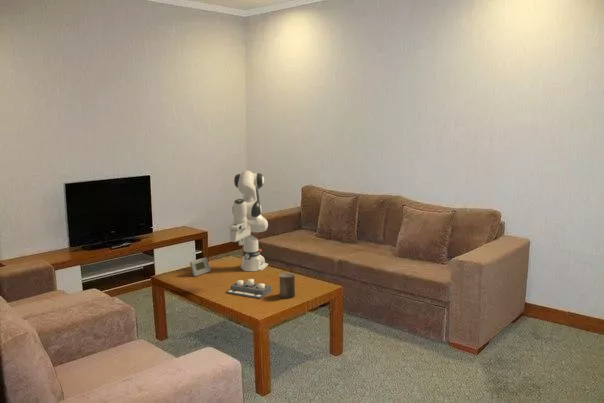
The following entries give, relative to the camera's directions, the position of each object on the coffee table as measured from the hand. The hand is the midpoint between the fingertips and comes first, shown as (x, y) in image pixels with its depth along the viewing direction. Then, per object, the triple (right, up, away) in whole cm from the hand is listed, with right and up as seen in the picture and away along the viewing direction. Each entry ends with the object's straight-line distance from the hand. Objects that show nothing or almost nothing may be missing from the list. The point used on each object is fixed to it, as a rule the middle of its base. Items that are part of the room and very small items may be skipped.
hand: (241, 244), depth 318 cm
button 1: (-1, -28, +1) cm, 28 cm away
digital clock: (-34, -24, +35) cm, 54 cm away
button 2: (+6, -27, -3) cm, 28 cm away
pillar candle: (+30, -31, -10) cm, 45 cm away
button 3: (+14, -29, -6) cm, 33 cm away
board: (+6, -30, -4) cm, 31 cm away
